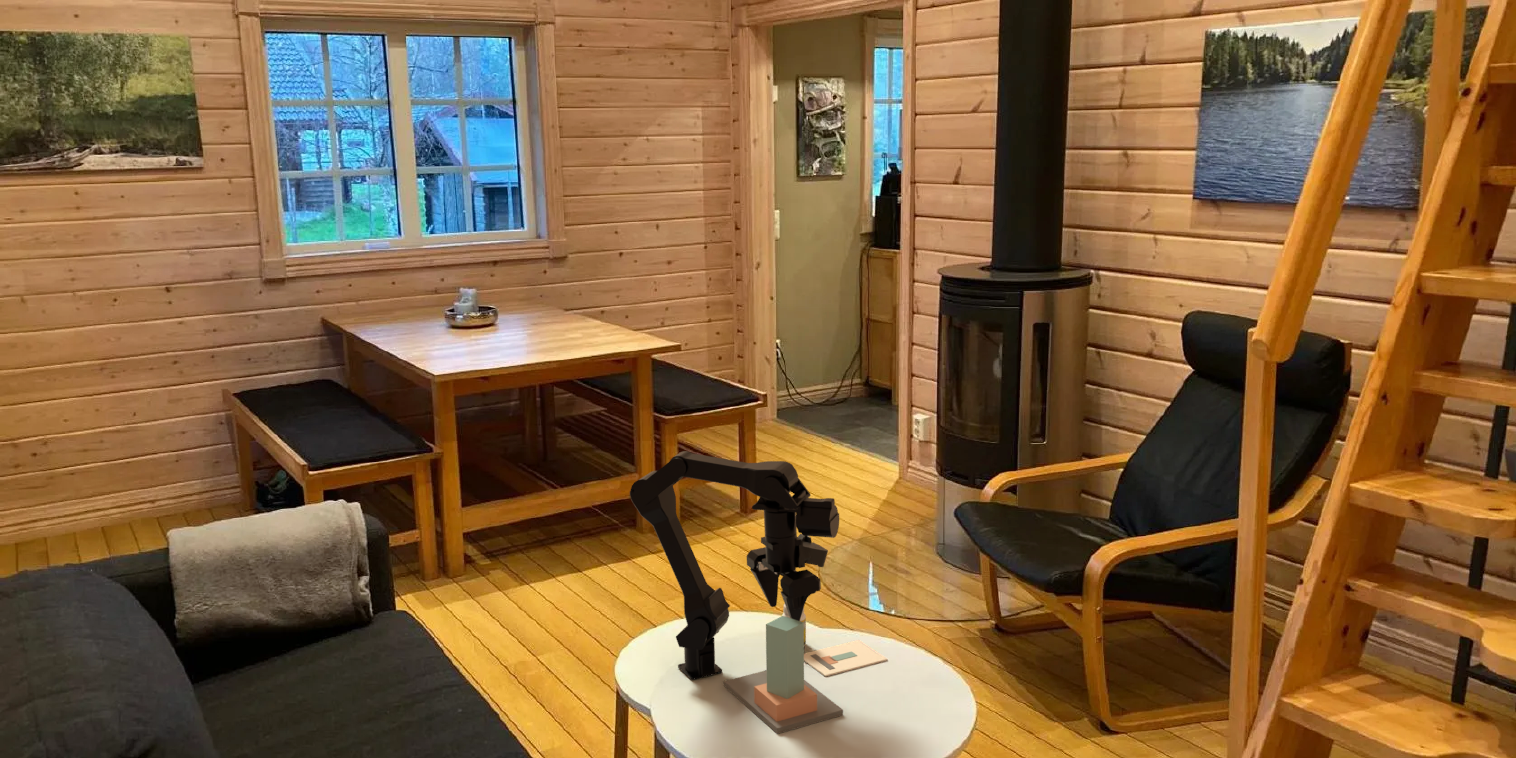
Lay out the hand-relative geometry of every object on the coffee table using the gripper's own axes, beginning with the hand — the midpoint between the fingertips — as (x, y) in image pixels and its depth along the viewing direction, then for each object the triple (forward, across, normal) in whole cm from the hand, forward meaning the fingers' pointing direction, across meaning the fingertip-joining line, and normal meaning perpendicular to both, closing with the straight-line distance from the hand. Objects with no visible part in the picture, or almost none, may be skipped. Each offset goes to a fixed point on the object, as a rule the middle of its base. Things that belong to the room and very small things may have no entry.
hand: (784, 614), depth 208 cm
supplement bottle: (+14, +14, -8) cm, 21 cm away
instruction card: (+14, +4, -14) cm, 20 cm away
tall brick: (+9, -10, +5) cm, 14 cm away
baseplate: (+13, -6, +4) cm, 15 cm away
